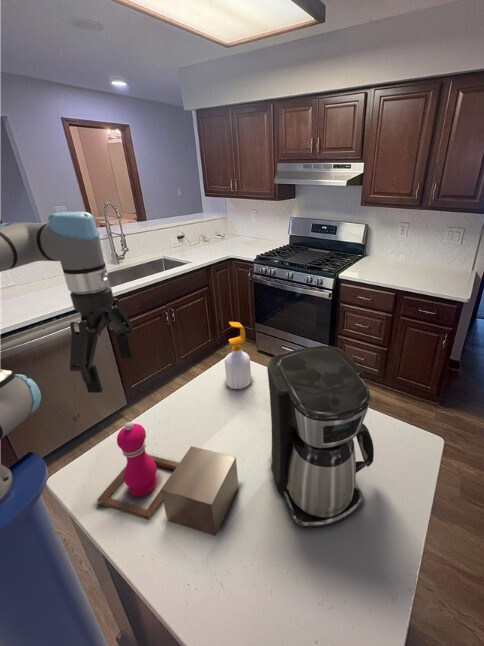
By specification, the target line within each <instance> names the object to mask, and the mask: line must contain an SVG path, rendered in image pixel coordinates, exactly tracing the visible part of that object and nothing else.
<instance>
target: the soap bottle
mask: <svg viewBox="0 0 484 646" xmlns="http://www.w3.org/2000/svg"><path fill="white" fill-rule="evenodd" d="M228 324H229V325H230V327H232V328H236V329H239V333H240V334H239V336H235V337H232V338H229V339H228V342H229V344H230V345H231V346H232V347H231V352H229V353H228V354H227V355H226V356H225V359H224V368H225V382H226V385H227V386H228V388H231V389H233V390H234V389H235V390H241V389H244V388H246V387H248V386H249V385H251V383H252V371H251V357H250V356H249V354H248V353H247V352H245V351H243V350H242V346H241V345H240V344H242V343H243V344H244V343H245V342H246V328H245V327H244V326H243V325H242V323H240V322H238V321H228Z"/></svg>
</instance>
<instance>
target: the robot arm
mask: <svg viewBox="0 0 484 646" xmlns="http://www.w3.org/2000/svg"><path fill="white" fill-rule="evenodd" d="M47 218H48V219H47V220H48V222H24V221H13V222H3V223H0V273H1V272H5V271H9V270H13V269H16V268H19V267H22V266H26V265H28V264H33V263H36V262H59V263H60V265H61V268H62V272H63V276H64V280H65V283H66V286H67V290H68V291H69V292H70V293H69V296H70V299H71V303H72V306H73V309H74V310H75V311H76V312H78V313H79V314H80V320H78V321H70V324H69V327H70V332H71V338H70V339H71V340H70V341H71V342H70V355H69V357H70V359H69V360H70V361H69V371H70V372H80V375H81V378H82V382H84V383H85V387H86V389H87V393H90V394H91V393H93V394H94V393H96V394H98V393H99V394H100V393H102V392H103V390H104V389H103V386H102V383H101V379H100V377H99V372H98V369H97V366H96V364H93V363H94V358H95V354H96V353H95V352H96V348H97V343H98V338H99V337H100V336H101V334H102V331H103V330H104V329H105V328H107V327H109V328H110V329H111V330H113V331H114V332H116V335H115V338H116V343H117V346H118V350H119V351H118V352H119V354H120V359H132V358H133V357H134V354H133V350H132V346H131V339H130V336H129V334H132V333H133V329H132V327H133V323H132V321H131V320H130V319H129V317H128V315H127V314H126V312H125V311H124V309H123V307H122V306H121V303H120V300H119V299H118V298H114V295H113V290H112V287H111V286H109V285H110V283H111V282H110V278H109V274H108V270H107V267H106V266H107V265H106V262H105V259H104V255H103V248H102V243H101V238H100V231H98V227H97V224H96V221H95V217H94V216H93V214H91V213H90V212H87V211H63V212H54V213H51V214H49V215H48V217H47ZM41 393H42V392H41V389H40V388H39V386H38V384H37V383H36V382H35V381H34V380H33V379H32V378H30V377H29V378H28V376H27V375H25V374H21V373H20V374H19V373H18V374H17V373H16V374H14V372H13V371H12V370H8V369H2V368H0V441H1V440H3V438H4V437H6V436H7V435H8V434H9V433H11V432H12V431H13V430H14V429H15V428H17V427H18V426H19V425H20V424H22V423H23V422H26V420H28V419H29V418H30V416H31V415H32V414H34V412H36V410H37V409H39V407H40V405H41V400H42V394H41ZM8 468H9V467H6V466H5V465H3V464H2V463H0V503H1V502H2V501H3V500H4V499H5V498H6V497H7V496H8V494H9V493H10V491H11V490H12V488H13V485H14V477H13V475H12V473H11V471H10V470H9V469H8Z"/></svg>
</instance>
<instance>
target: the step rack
mask: <svg viewBox="0 0 484 646" xmlns="http://www.w3.org/2000/svg"><path fill="white" fill-rule="evenodd" d="M148 455H149V456H150V457H151V458H152V459H153V460H154V462H155V464H156V466H158V467H163V468H165V469H170V470H173V471H172V473H171V474H170V476H169V477H168V478H167V480H166V482H165V483H164V484H163V486H162V487H161V489H160V490H159V492H158V493H157V494H156V495H155V498H154V499H153V500H152V502H151V503H150V505H148V507H147V508H143V507H140V506H137V505H133V504H130V503H127V502H124V501H121V500H117V499H114V498H111V496H112V495H113V494H114V493H115V491H116V490H117V489H118V488H119V486H120V485H121V484H122V483H123V481H124V471H125V468H126V466H125V467H124V468H123V469H122V470H121V472H119V474H118V475H117V476H116V477H115V478H114V480H113V481H111V483H110V484H109V485H108V486H107V488H106V489H105V490H104V491H103V492H102V493H101V495H99V497H98V498H97V499H96V501H97V504H98V505H100V506H104V507H107V508H110V509H112V510H115V511H119V512H122V513H125V514H129V515H131V516H134V517H138V518H140V519H144V520H148V521H150V520H151V518H152V517H153V515H154V514H155V512H156V511H157V509H158V508H159V506H160V505H161V503H162V502H163V507H164V511H165V516H166V520H167V522H170V523H174V524H177V525H180V526H183V527H186V528H189V529H192V530H195V531H198V532H201V533H205V534H207V535H211V536H214V537H216V536H217V534H218V532H219V530H220V528H221V526H222V524H223V522H224V519H225V517H226V514H227V512H228V510H229V508H230V506H231V504H232V502H233V499H234V497H235V495H236V493H237V490H238V489H239V477H238V466H237V457H236V456H232V455H229V454H225V453H220V452H216V451H212V450H209V449H203V448H201V447H196V446H190V447H189V449H188V450H187V451H186V453H185V454H184V455H183V457H182V458H181V460H180V462H177V461H174V460H169V459H165V458H161V457H159V456H158V457H157V456H154V455H150V454H148Z"/></svg>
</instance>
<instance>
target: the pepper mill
mask: <svg viewBox="0 0 484 646" xmlns="http://www.w3.org/2000/svg"><path fill="white" fill-rule="evenodd" d="M116 436H117V437H116V444H117V446H118V448H119V449H120V450H121V451H122V455H123V456H124V457H125V458H126V465H125V467H126V468H125V467H124V468H125V471H124V480H123V481H124V484H125V485H126V486H127V487H128V489H129V491H130V494H131V495H132V496H133V497H138V498H139V497H143V496H146V495H148V494H149V493H151V492H153V490H154V489H155V488H156V485H157V483H158V478H157V469H158V468H157V465H156V464H155V462H154V460H153V459H152V458H151V457H150V456H149V455H150V454H149V453H147V451H146V448H147V442H146V438H147V432H146V428H144V426H143V425H141V424H139V423H133V422H131V421H127V422H126V423H125V424H124V426H123V427H122V428H121V429H120V430H119V432H118V434H117V435H116Z"/></svg>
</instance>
